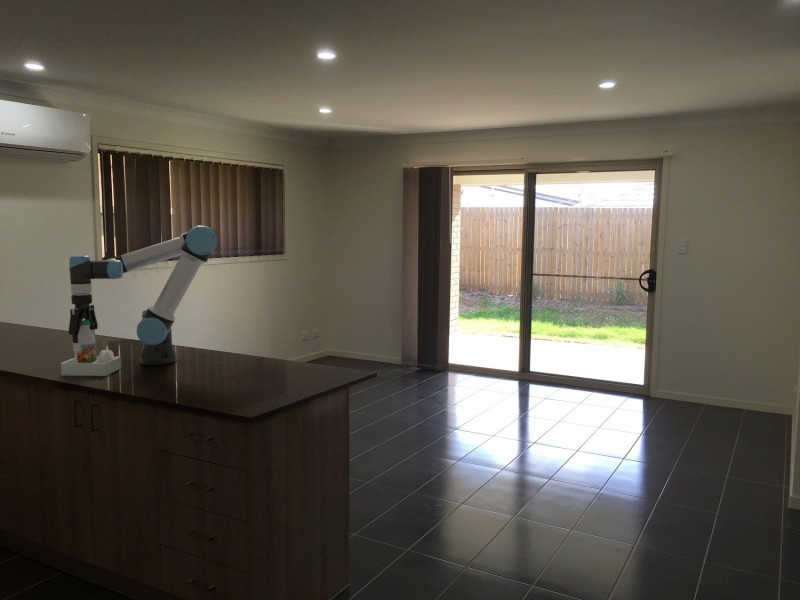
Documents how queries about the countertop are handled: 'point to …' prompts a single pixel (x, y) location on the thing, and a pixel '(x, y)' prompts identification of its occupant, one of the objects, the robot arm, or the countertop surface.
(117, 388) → the countertop surface
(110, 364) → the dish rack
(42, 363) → the countertop surface
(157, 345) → the robot arm
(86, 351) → the milk bottle
